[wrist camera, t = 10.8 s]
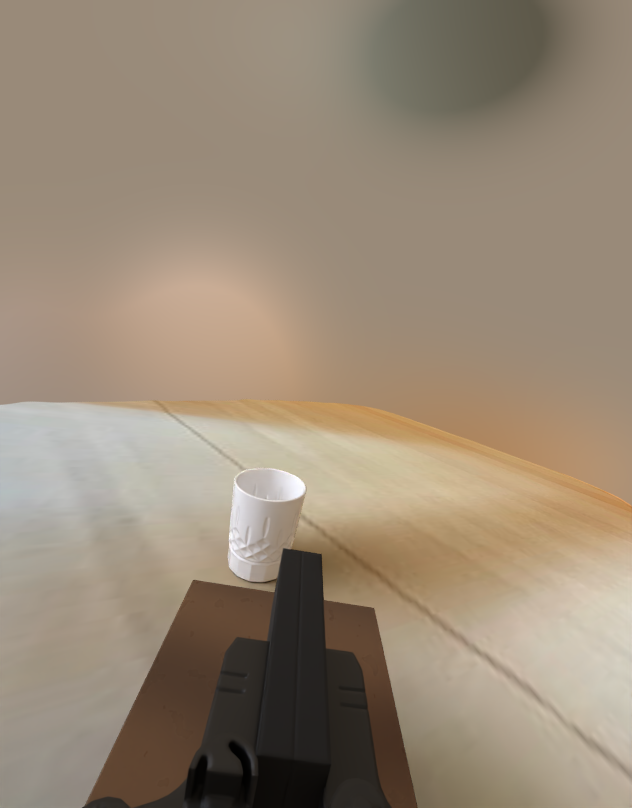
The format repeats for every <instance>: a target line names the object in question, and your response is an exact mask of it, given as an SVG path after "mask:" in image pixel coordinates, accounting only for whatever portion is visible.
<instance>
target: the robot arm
mask: <svg viewBox="0 0 632 808" xmlns="http://www.w3.org/2000/svg"><path fill="white" fill-rule="evenodd" d="M82 808H131V807H130V806H129V805H127V804H126V803H125V802H124V801H123V800H122V799H121V798H115V797H109V796H107V797H103V798H100V799H97V800H93V801H91V802H90V803H88V804H87V805H85V806H84V807H82ZM133 808H392V807H391V806H390V804H389V802H388V801H387V799H386V797H385V795H384V792H383V790H382V788H381V784H380V780H379V776H378V769H377V763H376V756H375V749H374V743H373V736H372V729H371V723H370V716H369V710H368V703H367V696H366V693H365V683H364V676H363V670H362V668H361V666H360V664H359V662H358V660H357V658H356V656H355V655H354V653H353V652H349V651H342V650H335V649H328V648H326V640H325V618H324V597H323V576H322V554H317V553H311V552H304V551H298V550H292V549H285V548H283V551H282V556H281V561H280V566H279V572H278V577H277V582H276V588H275V593H274V598H273V604H272V609H271V616H270V624H269V631H268V638H267V641H263V640H256V639H249V638H242V637H236V638H235V640H234V641H233V642H232V644H231V645H230V646H229V648H228V649H227V650H226V652H225V656H224V659H223V663H222V667H221V671H220V675H219V678H218V682H217V686H216V690H215V693H214V697H213V701H212V705H211V709H210V712H209V716H208V720H207V724H206V728H205V731H204V735H203V739H202V743H201V747H200V748H199V749H198V750H197V751H196V753H195V755H194V757H193V759H192V762H191V764H190V766H189V769H188V776H187V778H186V779H185V780H184V782H183V783H182V784H181V785H180V786H179V787H178V788H177V789H175V790H174V791H173V792H171V793H170V794H169V795H167V796H165V797H163V798H160V799H158V800H156V801H152V802H149V803H146V804H143V805H140V806H137V807H133Z"/></svg>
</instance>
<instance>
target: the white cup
mask: <svg viewBox="0 0 632 808" xmlns="http://www.w3.org/2000/svg"><path fill="white" fill-rule="evenodd" d="M306 490H307V488H306V485H305V483H304V482H303V481H302V480H301V479H300V478H298V477H297V476H295V475H293V474H291V473H289V472H286V471H282V470H278V469H273V468H252V469H247V470H244V471H242V472H240V473H238V474H237V475H236V477H235V479H234V489H233V499H232V509H231V518H230V532H229V551H228V563H229V568H230V569H231V570H232V571H233V572H234V573H235V575H236V576H238V577H240V578H242V579H245V580H247V581H251V582H267V581H270V580H274V579H276V578H277V577H278V572H279V566H280V561H281V556H282V551H283V548H285V549H291V548H292V545H293V541H294V538H295V535H296V531H297V527H298V522H299V518H300V514H301V510H302V506H303V502H304V498H305V494H306Z"/></svg>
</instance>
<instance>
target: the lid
mask: <svg viewBox="0 0 632 808" xmlns="http://www.w3.org/2000/svg"><path fill="white" fill-rule="evenodd" d="M274 593H275V592H268V591H262V590H255V589H249V588H243V587H236V586H230V585H223V584H217V583H211V582H204V581H198V580H193V581H192V583H191V585H190V587H189V589H188V592H187V594H186V596H185V598H184V600H183V602H182V604H181V606H180V608H179V610H178V612H177V614H176V617H175V619H174V621H173V623H172V625H171V627H170V629H169V631H168V633H167V635H166V637H165V639H164V642H163V644H162V646H161V648H160V650H159V652H158V654H157V656H156V658H155V660H154V662H153V664H152V667H151V669H150V671H149V673H148V675H147V677H146V679H145V681H144V683H143V685H142V687H141V689H140V692H139V694H138V696H137V698H136V700H135V702H134V704H133V706H132V708H131V710H130V712H129V714H128V717H127V719H126V721H125V723H124V725H123V727H122V729H121V731H120V733H119V735H118V737H117V739H116V742H115V744H114V746H113V748H112V750H111V752H110V754H109V756H108V758H107V760H106V762H105V764H104V767H103V769H102V771H101V773H100V775H99V777H98V779H97V781H96V783H95V785H94V787H93V789H92V792H91V794H90V796H89V798H88V800H87V802H86V804H85V805H87V804H88V803H90V802H91V801H93V800H97V799H100V798H103V797H107V796H109V797H115V798H121V799H122V800H123V801H124V802H125V803H126V804H127V805H129V806H130V807H131V808H133V807H137V806H140V805H143V804H146V803H149V802H152V801H156V800H158V799H160V798H163V797H165V796H167V795H169V794H170V793H171V792H173V791H174V790H175V789H177V788H178V787H179V786H180V785H181V784H182V783H183V782H184V780H185V779H186V778H187V776H188V769H189V766H190V764H191V762H192V759H193V757H194V755H195V753H196V751H197V750H198V749H199V748H200V747H201V743H202V739H203V735H204V731H205V728H206V724H207V720H208V716H209V712H210V709H211V705H212V701H213V697H214V693H215V690H216V686H217V682H218V678H219V675H220V671H221V667H222V663H223V659H224V656H225V652H226V650H227V649H228V648H229V646H230V645H231V644H232V642H233V641H234V640H235V638H236V637H242V638H249V639H256V640H263V641H267V638H268V631H269V624H270V616H271V609H272V604H273V598H274ZM324 618H325V640H326V648H328V649H335V650H342V651H349V652H353V653H354V655H355V656H356V658H357V660H358V662H359V664H360V666H361V668H362V670H363V676H364V683H365V693H366V696H367V703H368V710H369V716H370V723H371V729H372V736H373V743H374V749H375V756H376V763H377V769H378V776H379V780H380V784H381V788H382V790H383V792H384V795H385V797H386V799H387V801H388V802H389V804H390V806H391V807H392V808H417V803H416V799H415V794H414V789H413V785H412V780H411V776H410V771H409V766H408V762H407V757H406V753H405V748H404V743H403V739H402V734H401V730H400V725H399V720H398V716H397V711H396V707H395V702H394V697H393V693H392V688H391V684H390V679H389V674H388V670H387V665H386V661H385V656H384V651H383V647H382V642H381V638H380V633H379V628H378V624H377V619H376V615H375V610H374V608H371V607H364V606H358V605H351V604H345V603H339V602H332V601H326V600H324Z"/></svg>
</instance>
